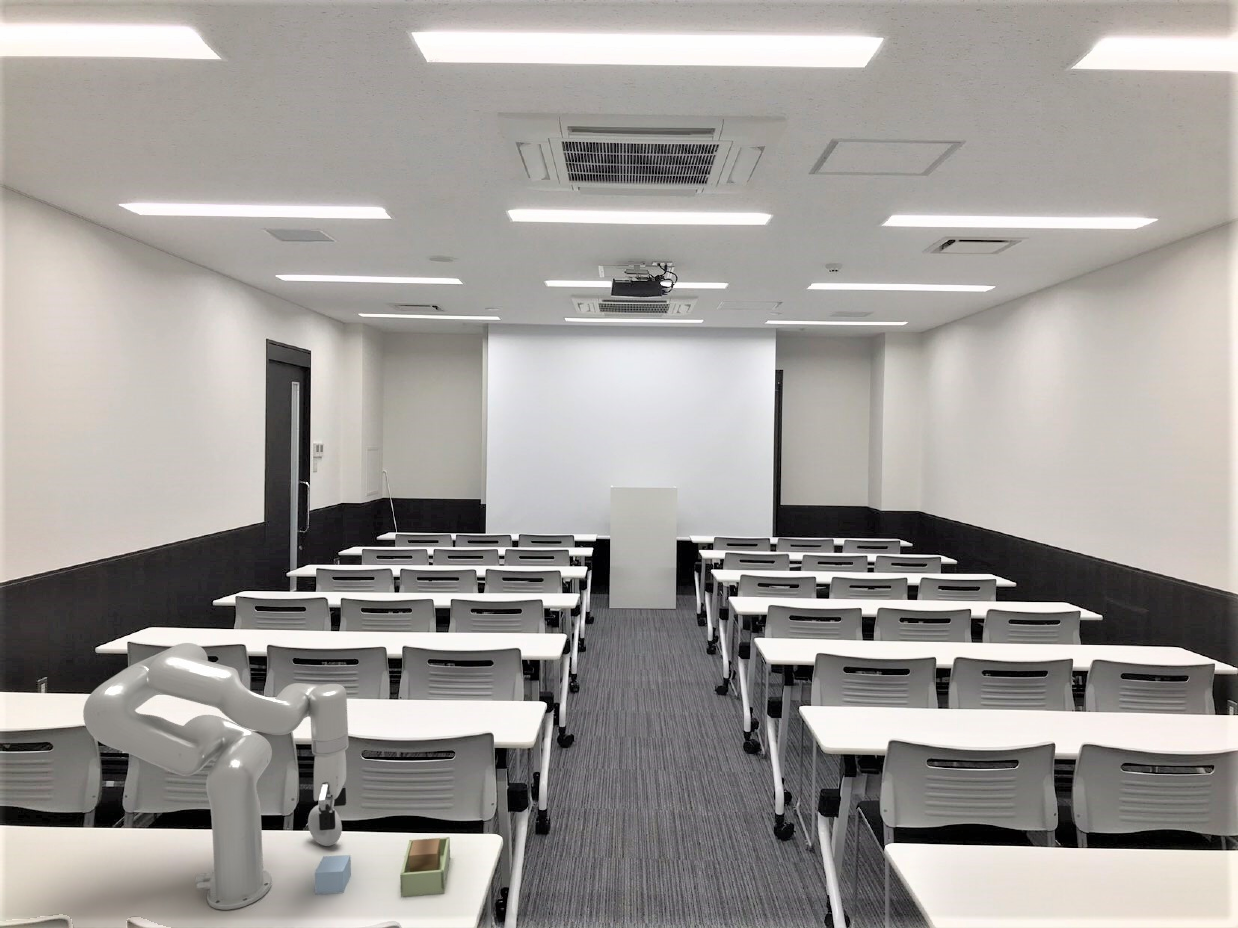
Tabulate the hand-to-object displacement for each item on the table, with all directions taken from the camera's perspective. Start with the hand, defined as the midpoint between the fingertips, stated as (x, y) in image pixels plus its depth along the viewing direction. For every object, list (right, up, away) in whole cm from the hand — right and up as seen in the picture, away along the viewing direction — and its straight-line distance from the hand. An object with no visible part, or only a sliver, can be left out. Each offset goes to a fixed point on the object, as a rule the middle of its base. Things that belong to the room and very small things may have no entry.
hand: (333, 816), depth 165 cm
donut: (-8, -15, +16) cm, 23 cm away
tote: (+20, -15, +4) cm, 25 cm away
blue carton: (0, -16, +1) cm, 16 cm away
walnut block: (+19, -14, +4) cm, 24 cm away
